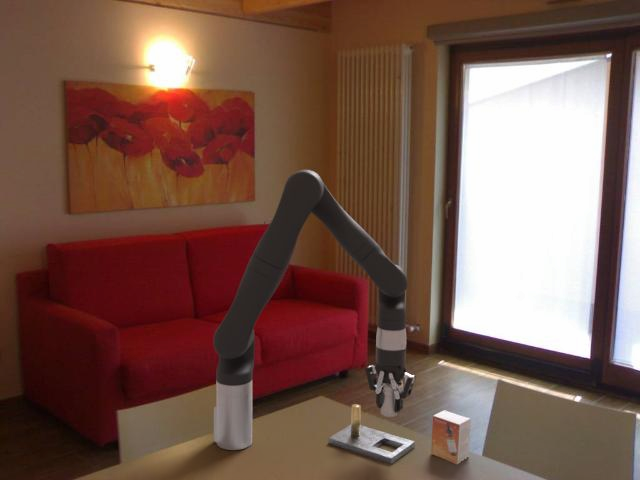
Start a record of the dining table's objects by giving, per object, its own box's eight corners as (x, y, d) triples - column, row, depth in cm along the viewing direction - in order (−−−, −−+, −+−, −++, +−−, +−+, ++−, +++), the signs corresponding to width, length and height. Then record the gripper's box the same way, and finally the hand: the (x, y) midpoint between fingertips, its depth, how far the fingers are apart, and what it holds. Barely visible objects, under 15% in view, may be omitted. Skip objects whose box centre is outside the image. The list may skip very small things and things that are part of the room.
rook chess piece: (397, 418, 173) (397, 387, 172) (379, 416, 174) (380, 386, 173) (398, 411, 177) (399, 381, 176) (381, 409, 178) (382, 380, 177)
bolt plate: (328, 443, 181) (329, 408, 179) (353, 428, 190) (354, 395, 189) (391, 464, 170) (392, 427, 168) (414, 447, 179) (415, 412, 178)
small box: (430, 454, 175) (431, 415, 174) (442, 447, 179) (444, 409, 178) (457, 465, 170) (459, 424, 168) (469, 457, 174) (471, 418, 172)
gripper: (359, 342, 174) (357, 407, 177) (408, 353, 166) (406, 421, 168) (374, 336, 180) (373, 398, 183) (423, 346, 172) (421, 411, 174)
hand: (389, 409), depth 175 cm, fingers closed on rook chess piece, 4 cm apart
